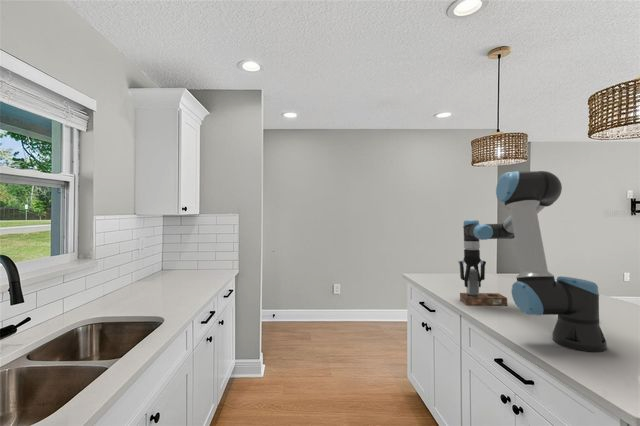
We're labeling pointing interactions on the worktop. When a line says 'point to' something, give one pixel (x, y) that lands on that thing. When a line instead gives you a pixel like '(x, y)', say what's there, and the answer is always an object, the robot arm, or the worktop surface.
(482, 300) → the socket block
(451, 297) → the worktop surface
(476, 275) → the plug
